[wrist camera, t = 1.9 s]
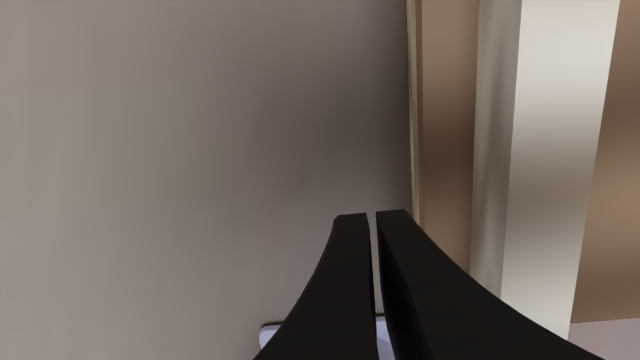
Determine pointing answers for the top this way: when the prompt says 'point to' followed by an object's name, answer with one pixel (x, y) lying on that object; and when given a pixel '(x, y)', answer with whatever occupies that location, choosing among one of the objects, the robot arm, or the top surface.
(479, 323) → the robot arm
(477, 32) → the lid
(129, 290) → the top surface
